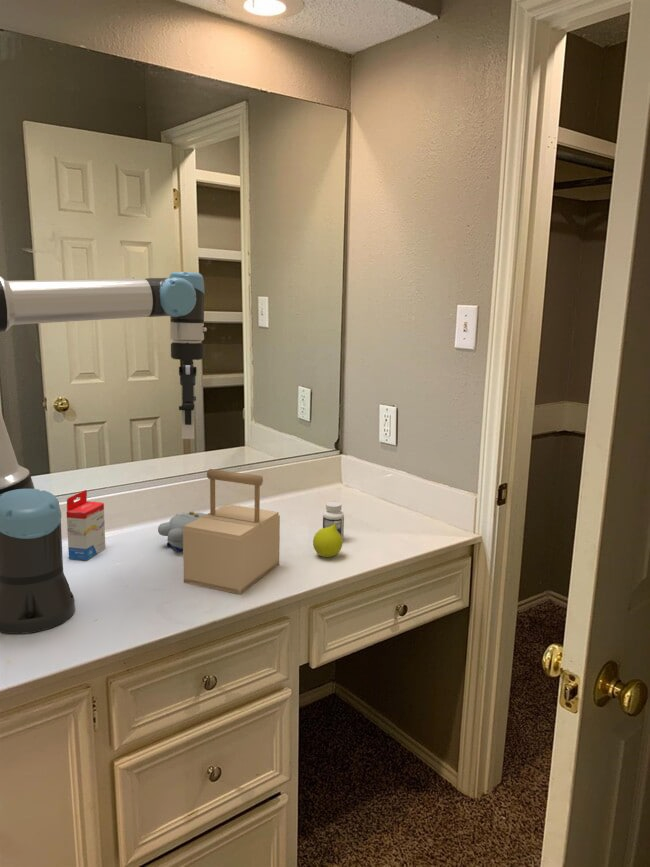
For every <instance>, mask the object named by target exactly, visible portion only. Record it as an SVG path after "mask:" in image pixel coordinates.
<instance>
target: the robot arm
mask: <svg viewBox="0 0 650 867" xmlns="http://www.w3.org/2000/svg"><path fill="white" fill-rule="evenodd" d="M205 293H206V292H205V283H204V277H203V275H202V274H201V273H200V272H199V273H198V272H191V271H173V272H172V271H171V273H170V274H169V277H147V278H142V277H141V278H139V277H138V278H135V277H131V278H130V277H128V278H127V277H125V278H99V279H98V278H93V279H92V278H89V279H80V278H79V279H41V280H40V279H38V280H37V279H36V280H35V279H34V280H33V279H32V280H31V279H30V280H28V279H27V280H5V278H4V277H2V276H1V275H0V332H8V330H9V329H10V328H11V327H12V326H16V325H17V326H18V325H33V324H49V323H51V324H52V323H66V322H68V323H69V322H84V321H87V322H88V321H100V320H103V321H104V320H114V319H115V320H117V319H133V318H134V319H135V318H136V319H138V318H159V317H169V318H170V322H169V324H170V326H169V330H170V334H169V336H170V339H171V341H172V342H171V343H170V358H171V359H173V360H179V361H181V360H182V361H181V366H179V367H178V375H179V384H180V386H182V388H181V389H182V392H181V393H182V394H181V396H182V397H181V398H182V401H181V405H178V411H181V439H182V440H195V403H194V401H195V402H196V401H197V396H195V395H194V392H195V391H194V390H195V389H194V386H195V385H196V384H197V383H196V382H197V381H196V377H197V366H194V361H195V360H197V361H199V360H204V358H205V344H204V342H203V341H204V339H205V334H204V332H207V330H208V329H207V327H204V326H205V324H204V323H205V295H206V294H205ZM170 339H169V340H170ZM10 438H11V437H10V436H9V433H8V430H7V425H6V422H5V420H4V416H3V413H2V411H1V410H0V632H1V633H5V634H29V633H34V632H35V633H36V632H40V631H45V630H48V629H51V628H54V627H56V626H59V625H60V624H63V623H65V622H66V621H67V620H69V619H70V618H71V617H72V616H73V615H74V613H75V611H76V606H75V605H76V604H75V603H76V600H75V596H74V594H73V592H72V591H71V587H70V584H69V583H68V580H67V578H66V575H65V573H64V561H63V560H64V559H63V557H64V556H63V536H62V522H61V521H62V510H61V507H60V502H59V499H58V498H57V496H56V495H54V494H53V493H51V492H50V491H46V490H40V489H38V488H35V485H34V482H33V478H32V477H31V476H32V475H31V473H30V470H29V469H28V468H25V467H23V466H21V465H20V464H19V463H18V460H17V456H16V453H15V451H14V448H13V445H12V442H11V439H10Z"/></svg>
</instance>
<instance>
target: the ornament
mask: <svg viewBox="0 0 650 867" xmlns="http://www.w3.org/2000/svg"><path fill="white" fill-rule="evenodd" d="M336 524H337V522H336V521H335V522H334V524H333V525H332V526H331V527H326V528H323V527H322V528H320V529H318V531H317V532H316V533H315V534H314V536H313V540H312V545H313V549H314V550H315V552H316V554H318V555H319V556H321V557H324V558H331V557H334V556H337V554H339V553H340V551H341V549H342V548H343V541H342V537H341V535H340V533H339V532H338V531H337V529H336Z"/></svg>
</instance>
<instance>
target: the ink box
mask: <svg viewBox="0 0 650 867" xmlns="http://www.w3.org/2000/svg"><path fill="white" fill-rule="evenodd" d="M87 496H88V491H87V489H85V490H82V491H81V492H77V493H75V494H74V495H71V496H70V497H68V498H66V526H67V527H66V528H67V529H66V530H67V545H68V546H67V547H68V559H69V560H77V561H89V560H90V559H92V558H94V557H95V556H96V555H98V554H100V553H101V552H103V551H104V550H106V532H105V531H106V530H105V529H106V527H105V502H100V501H87V500H88V497H87ZM77 498H78V499H79V498H80V499H79V500H77ZM76 500H77V501H76ZM74 501H75V502H74Z"/></svg>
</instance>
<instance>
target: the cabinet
mask: <svg viewBox="0 0 650 867" xmlns="http://www.w3.org/2000/svg"><path fill="white" fill-rule="evenodd" d="M280 522H281V516H280V515H278V516H277V517H275V518H274V519H272V520H270V521H269V522H267V523H265V524H264V525H262V526H260V524H259V523H253V522H247V521H241V520H235V519H229V518H223V517H217V516H211V515H204V516H202V517H201V518H199V519H197V520H195V521H193V522H191V523H189V524H187V525H185V526H184V529H183V551H182V556H183V557H182V560H183V563H182V564H183V583H185V584H189V585H193V586H198V587H202V588H203V587H204V588H207V589H212V590H216V591H221V592H224V593H225V592H227V593H232V594H234V595H242V594H243V593H245V592H246V591H247V590H248V589H250V588H251V587H252V586H254V585H255V584H256V583H258V582H259V581H260V580H262V579H263V578H264V577H265V576H267V575H268V574H269V573H271V572H272V571H274V569H276V568H277V567H278V566H280V545H281V544H280V543H281V542H280V541H281V540H280V537H281V535H280V534H281V532H280V531H281V529H280V525H281V524H280Z"/></svg>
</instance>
